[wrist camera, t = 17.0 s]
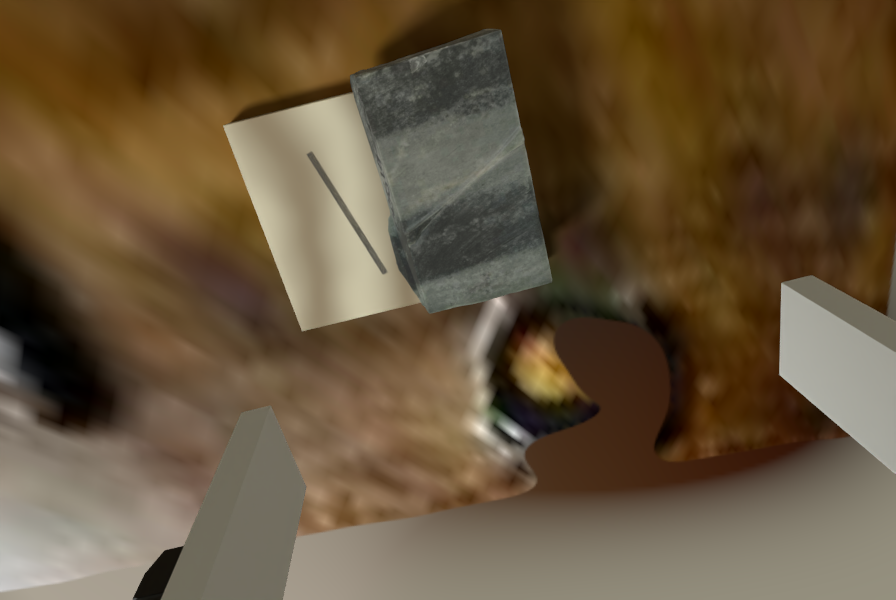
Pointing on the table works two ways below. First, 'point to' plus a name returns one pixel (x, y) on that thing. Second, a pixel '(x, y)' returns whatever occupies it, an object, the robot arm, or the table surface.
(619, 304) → the table surface
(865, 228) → the table surface
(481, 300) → the stone block
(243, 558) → the robot arm
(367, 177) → the board
